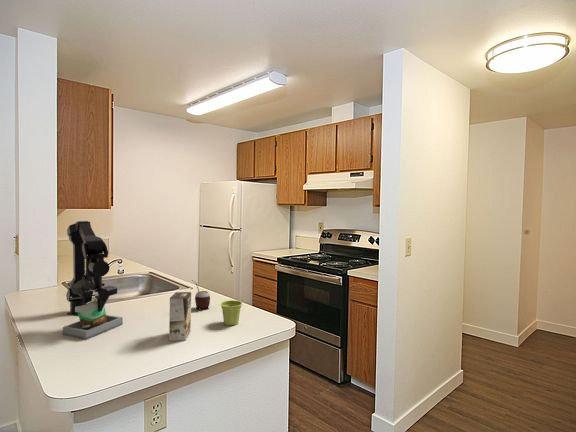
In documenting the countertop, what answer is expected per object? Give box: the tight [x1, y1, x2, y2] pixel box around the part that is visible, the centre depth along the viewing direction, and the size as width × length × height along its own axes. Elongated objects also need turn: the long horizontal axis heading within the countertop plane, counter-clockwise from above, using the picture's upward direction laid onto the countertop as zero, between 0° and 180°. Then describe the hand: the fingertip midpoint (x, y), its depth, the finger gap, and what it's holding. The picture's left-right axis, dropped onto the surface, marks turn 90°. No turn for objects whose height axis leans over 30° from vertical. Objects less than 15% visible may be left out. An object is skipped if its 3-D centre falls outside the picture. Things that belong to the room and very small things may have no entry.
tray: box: [62, 314, 124, 341], centre depth 139 cm, size 12×17×3 cm
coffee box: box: [168, 291, 192, 342], centre depth 134 cm, size 9×6×16 cm
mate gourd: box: [191, 279, 211, 312], centre depth 167 cm, size 8×8×15 cm
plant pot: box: [219, 300, 243, 326], centre depth 149 cm, size 9×9×9 cm
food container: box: [75, 298, 107, 329], centre depth 139 cm, size 12×6×10 cm, turn 162°
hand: (93, 310), depth 138 cm, fingers open, 6 cm apart
